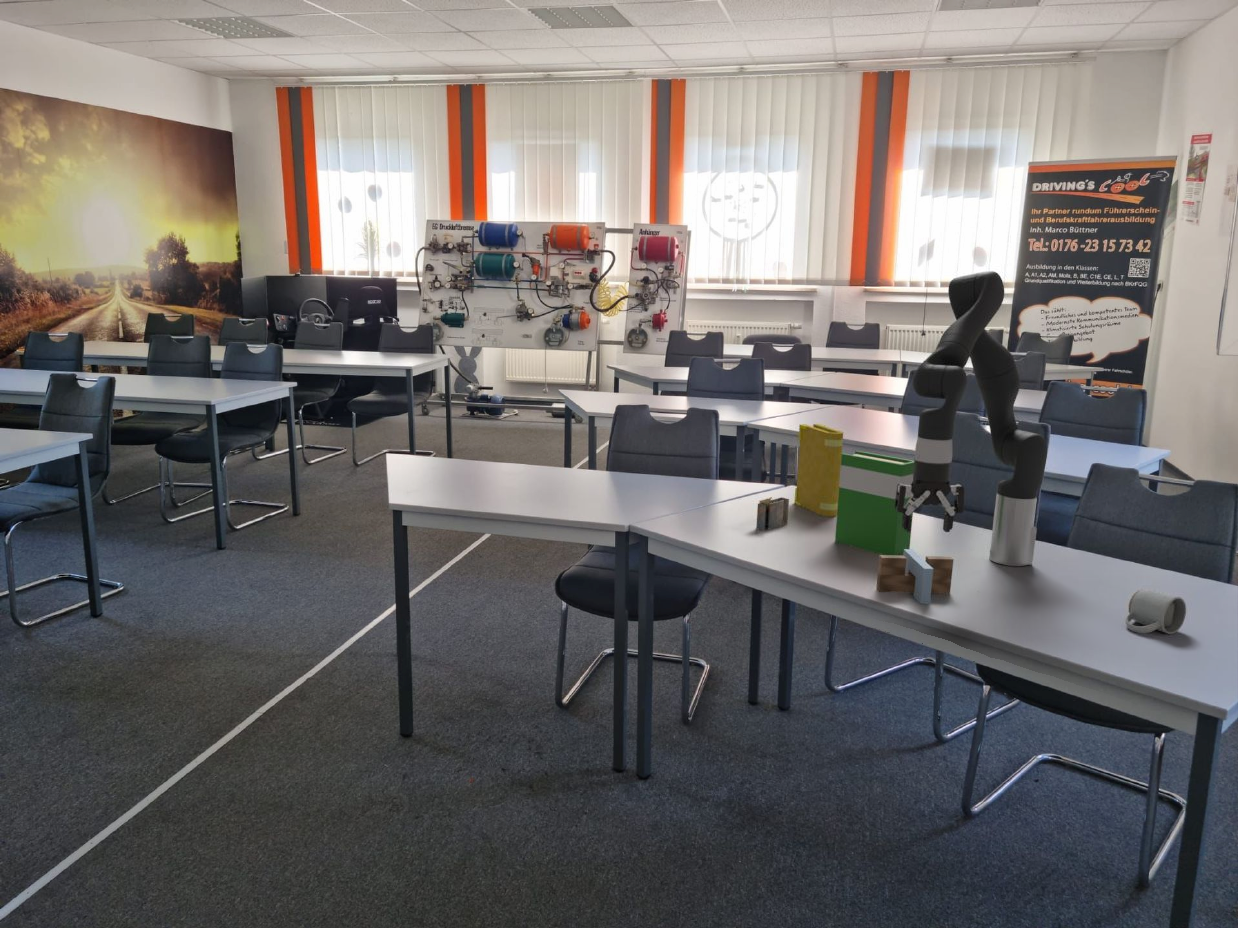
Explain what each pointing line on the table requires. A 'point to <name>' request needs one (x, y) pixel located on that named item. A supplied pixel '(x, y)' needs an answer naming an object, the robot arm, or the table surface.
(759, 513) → the weathered grey slotted block
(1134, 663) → the table surface
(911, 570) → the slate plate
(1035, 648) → the table surface
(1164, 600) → the ceramic mug
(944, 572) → the walnut plate
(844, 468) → the hardback book
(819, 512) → the book
